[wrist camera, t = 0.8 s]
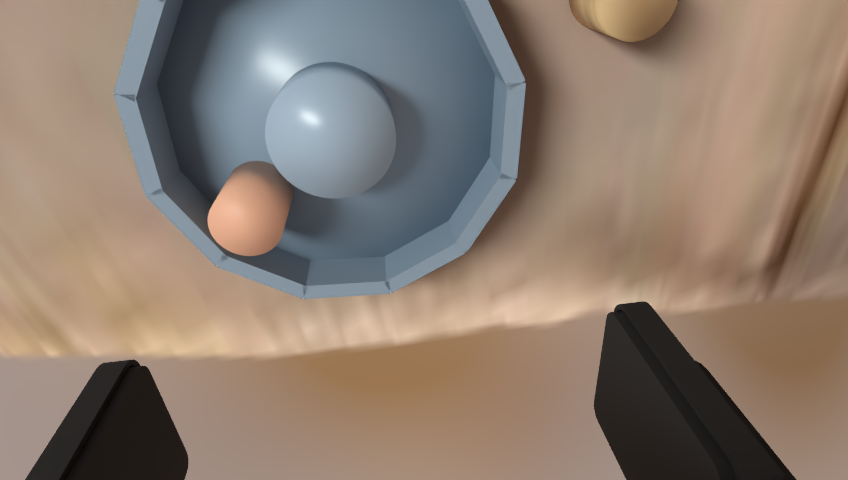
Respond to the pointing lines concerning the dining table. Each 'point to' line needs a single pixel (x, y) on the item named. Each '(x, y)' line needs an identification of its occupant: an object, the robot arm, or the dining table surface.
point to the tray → (235, 90)
